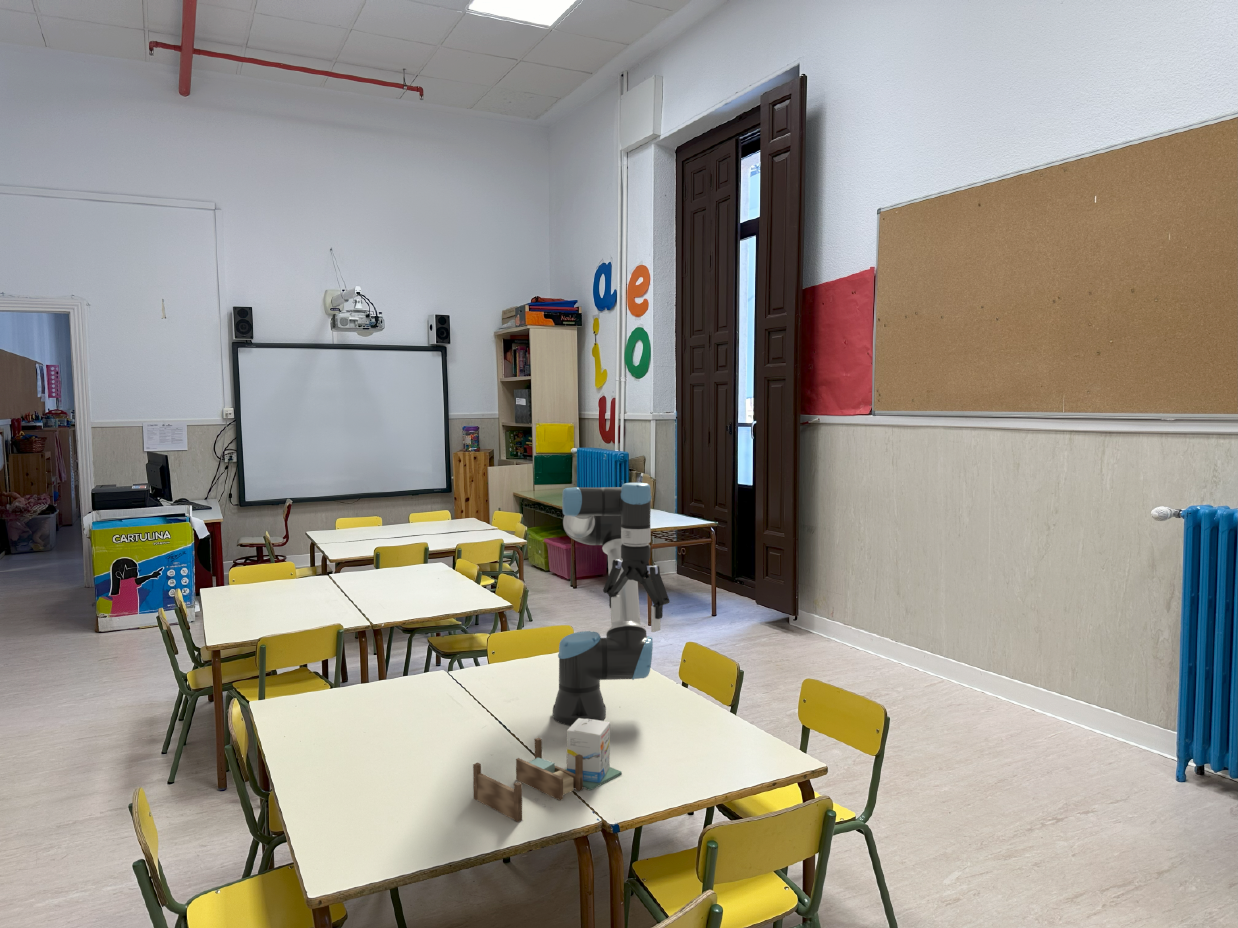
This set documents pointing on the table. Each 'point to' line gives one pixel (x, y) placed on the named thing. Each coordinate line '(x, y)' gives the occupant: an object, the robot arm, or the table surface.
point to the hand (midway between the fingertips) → (635, 625)
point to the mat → (608, 776)
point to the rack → (529, 774)
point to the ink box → (589, 748)
